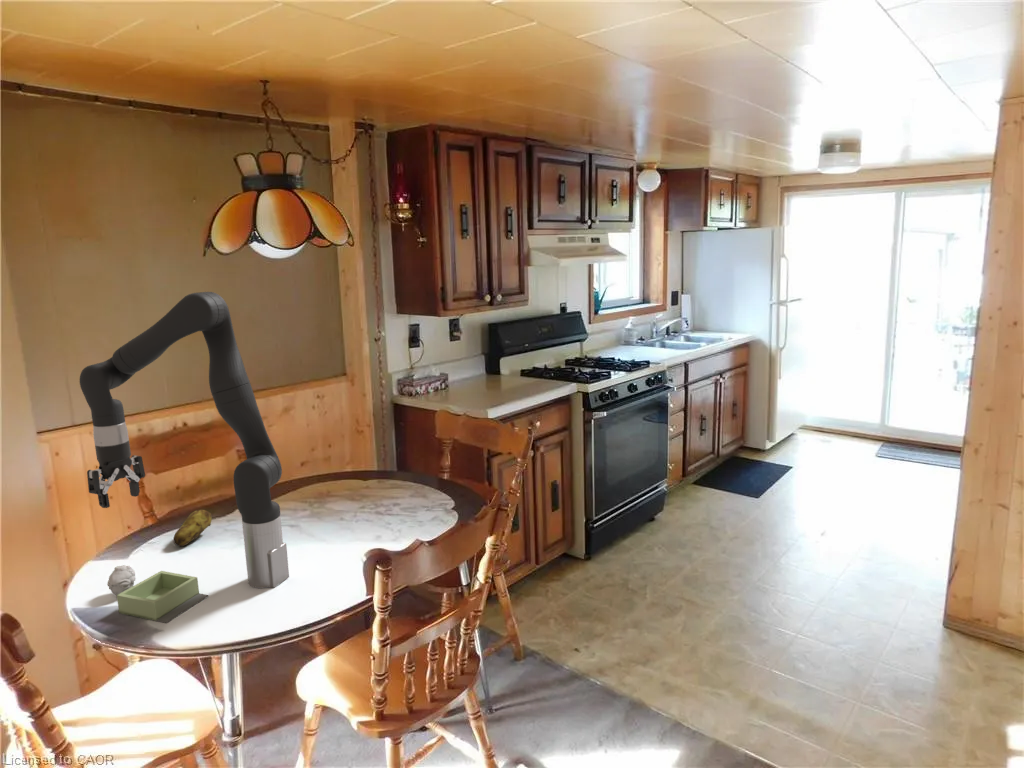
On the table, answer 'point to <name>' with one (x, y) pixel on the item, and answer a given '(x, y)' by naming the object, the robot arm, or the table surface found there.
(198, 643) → the table surface
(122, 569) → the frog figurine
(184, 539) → the potato
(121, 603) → the tray
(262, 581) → the robot arm
